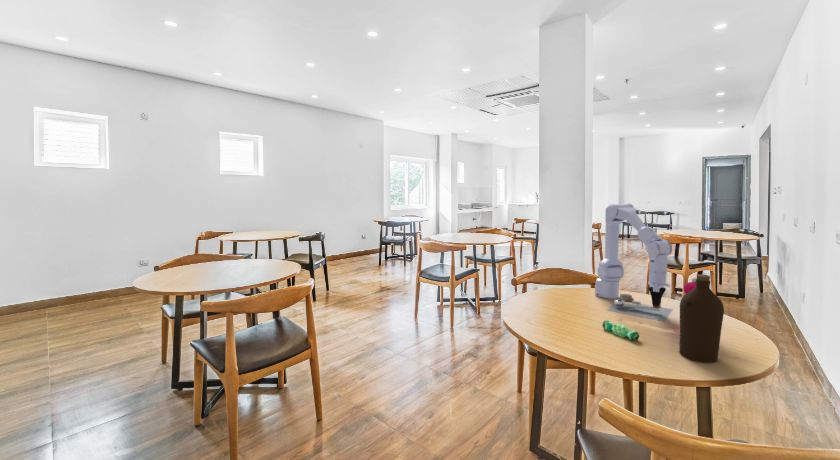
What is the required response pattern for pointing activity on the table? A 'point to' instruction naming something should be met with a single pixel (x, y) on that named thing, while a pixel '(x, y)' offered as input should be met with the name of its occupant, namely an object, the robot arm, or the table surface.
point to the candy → (620, 330)
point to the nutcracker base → (641, 310)
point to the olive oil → (700, 322)
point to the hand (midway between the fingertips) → (656, 305)
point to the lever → (636, 305)
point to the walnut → (629, 299)
